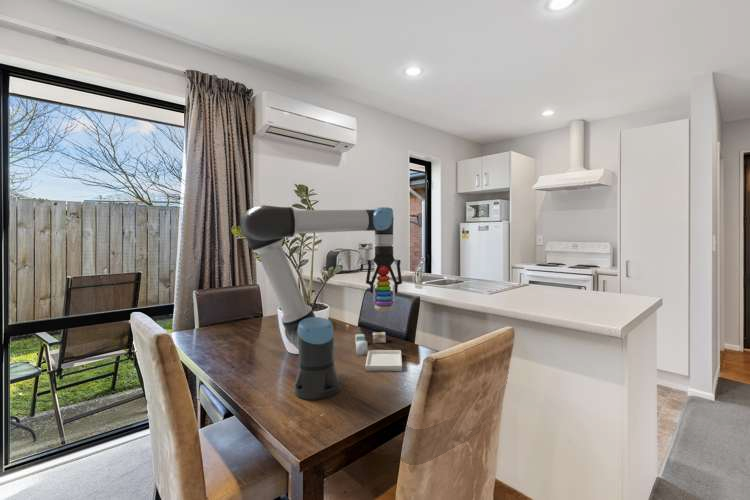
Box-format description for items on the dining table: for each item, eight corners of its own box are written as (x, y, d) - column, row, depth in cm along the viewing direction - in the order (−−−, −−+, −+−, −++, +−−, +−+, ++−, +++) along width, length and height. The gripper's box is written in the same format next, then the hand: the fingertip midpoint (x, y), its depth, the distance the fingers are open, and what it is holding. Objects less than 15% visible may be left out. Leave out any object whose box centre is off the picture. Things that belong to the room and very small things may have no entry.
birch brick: (373, 343, 170) (372, 334, 169) (372, 340, 174) (372, 332, 173) (385, 342, 170) (385, 334, 170) (385, 340, 174) (385, 332, 174)
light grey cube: (355, 355, 153) (355, 344, 152) (356, 351, 158) (356, 340, 157) (367, 355, 152) (366, 343, 152) (367, 351, 157) (367, 340, 157)
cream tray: (365, 371, 135) (365, 365, 135) (368, 354, 153) (368, 350, 153) (402, 371, 134) (402, 365, 134) (400, 354, 152) (400, 350, 152)
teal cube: (356, 345, 167) (356, 336, 167) (355, 342, 171) (355, 334, 170) (365, 344, 168) (364, 336, 167) (363, 342, 171) (363, 333, 171)
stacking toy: (393, 307, 150) (393, 263, 149) (393, 311, 142) (393, 265, 141) (375, 307, 150) (375, 263, 150) (373, 311, 142) (373, 265, 142)
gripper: (408, 245, 149) (407, 299, 150) (359, 245, 149) (359, 299, 150) (409, 245, 141) (409, 302, 142) (358, 245, 142) (358, 302, 142)
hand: (383, 300), depth 146 cm, fingers closed on stacking toy, 7 cm apart
